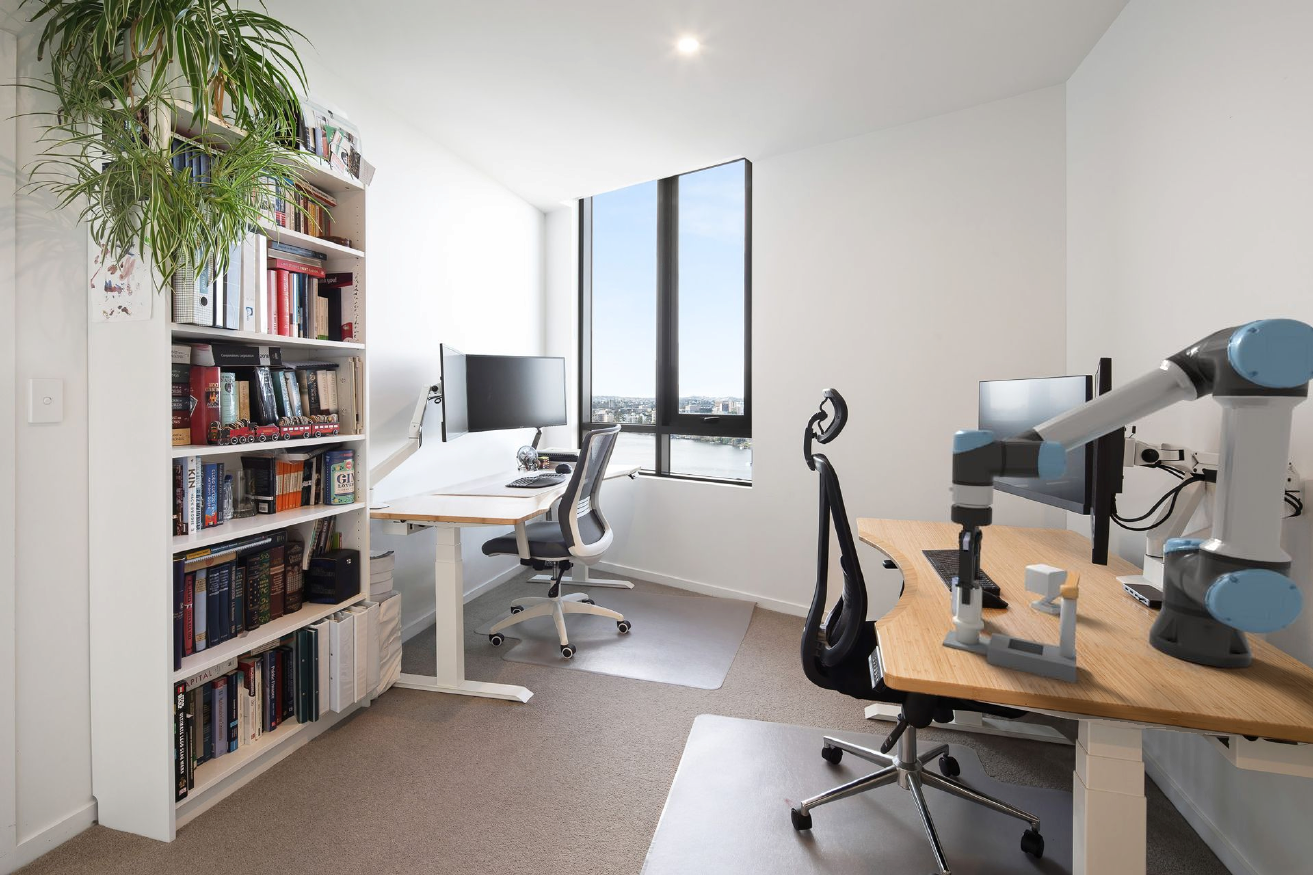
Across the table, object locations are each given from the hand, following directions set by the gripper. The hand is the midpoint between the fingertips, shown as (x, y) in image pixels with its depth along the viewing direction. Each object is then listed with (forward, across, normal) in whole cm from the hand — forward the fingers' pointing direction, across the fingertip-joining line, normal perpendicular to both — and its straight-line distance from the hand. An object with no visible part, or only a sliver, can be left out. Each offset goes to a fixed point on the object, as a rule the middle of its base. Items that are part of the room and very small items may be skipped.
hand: (968, 614), depth 121 cm
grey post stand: (+6, +4, +12) cm, 14 cm away
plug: (+6, 0, 0) cm, 6 cm away
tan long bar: (-6, -3, +17) cm, 19 cm away
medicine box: (+7, -16, -2) cm, 17 cm away
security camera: (+6, -35, +12) cm, 38 cm away
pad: (+6, 0, 0) cm, 6 cm away
